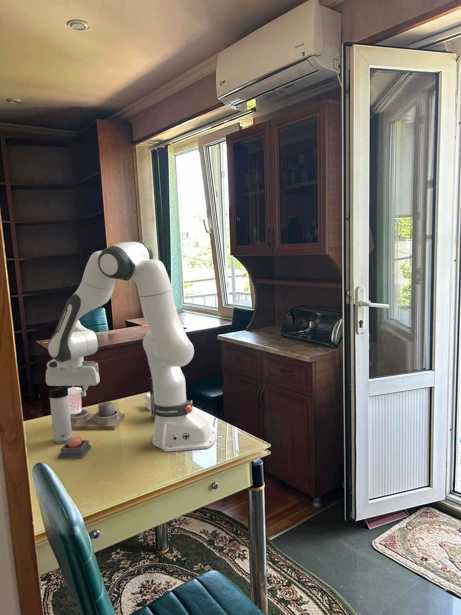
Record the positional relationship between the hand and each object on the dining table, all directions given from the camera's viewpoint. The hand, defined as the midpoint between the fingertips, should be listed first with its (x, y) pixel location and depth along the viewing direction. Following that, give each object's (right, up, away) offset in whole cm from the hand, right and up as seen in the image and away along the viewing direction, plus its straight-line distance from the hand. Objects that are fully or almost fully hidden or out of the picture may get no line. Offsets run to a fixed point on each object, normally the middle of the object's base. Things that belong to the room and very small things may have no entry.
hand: (74, 396), depth 181 cm
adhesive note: (+29, -8, +17) cm, 34 cm away
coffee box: (+34, -10, +5) cm, 36 cm away
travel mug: (+1, -14, -14) cm, 19 cm away
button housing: (+9, -14, -24) cm, 30 cm away
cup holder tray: (+7, -11, +2) cm, 13 cm away
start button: (+9, -12, -25) cm, 29 cm away
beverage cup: (0, -7, +1) cm, 7 cm away
